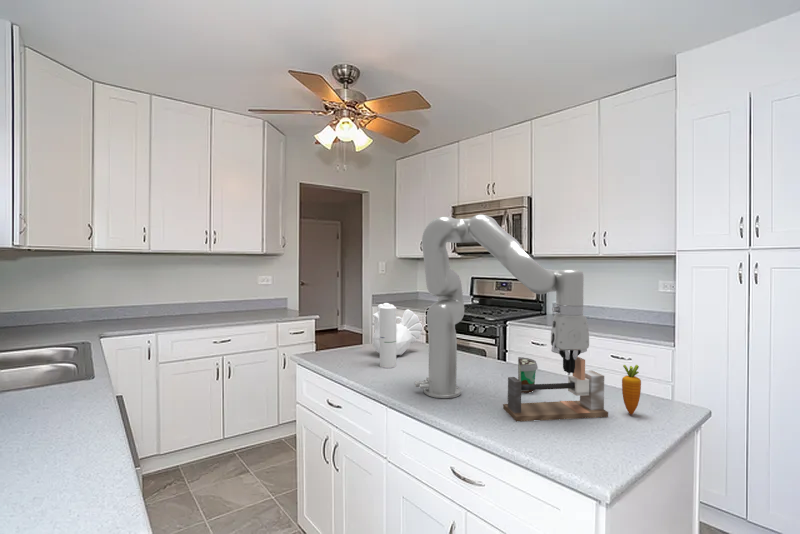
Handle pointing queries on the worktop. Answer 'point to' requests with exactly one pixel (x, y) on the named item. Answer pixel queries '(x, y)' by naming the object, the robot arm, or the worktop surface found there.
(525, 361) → the food container
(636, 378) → the carrot
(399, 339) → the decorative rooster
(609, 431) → the worktop surface
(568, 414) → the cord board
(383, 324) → the cylindrical container
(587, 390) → the sleeve
